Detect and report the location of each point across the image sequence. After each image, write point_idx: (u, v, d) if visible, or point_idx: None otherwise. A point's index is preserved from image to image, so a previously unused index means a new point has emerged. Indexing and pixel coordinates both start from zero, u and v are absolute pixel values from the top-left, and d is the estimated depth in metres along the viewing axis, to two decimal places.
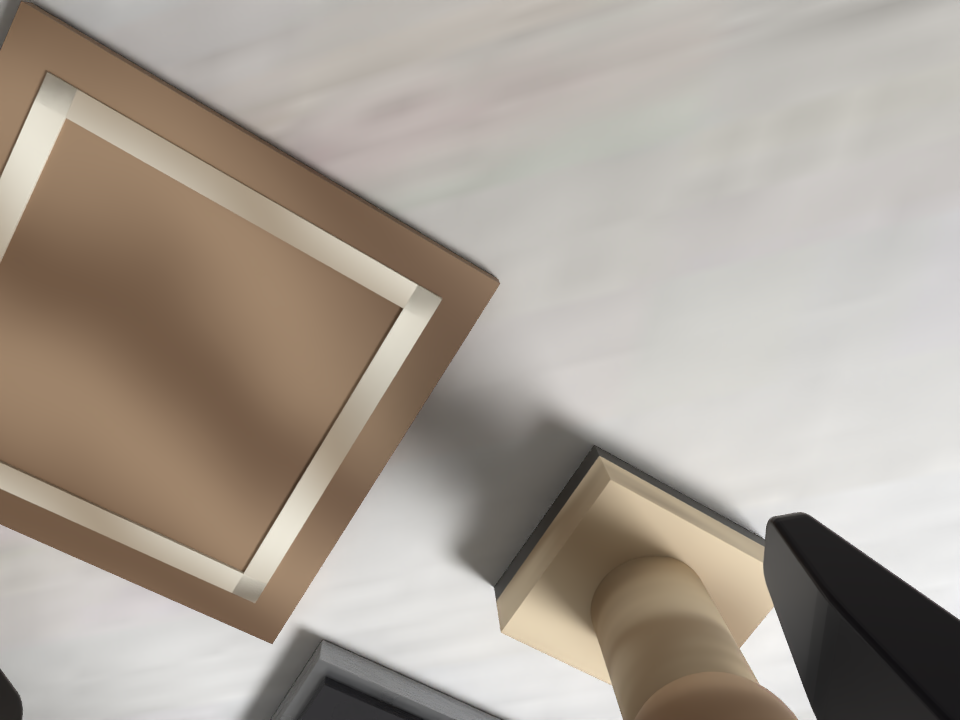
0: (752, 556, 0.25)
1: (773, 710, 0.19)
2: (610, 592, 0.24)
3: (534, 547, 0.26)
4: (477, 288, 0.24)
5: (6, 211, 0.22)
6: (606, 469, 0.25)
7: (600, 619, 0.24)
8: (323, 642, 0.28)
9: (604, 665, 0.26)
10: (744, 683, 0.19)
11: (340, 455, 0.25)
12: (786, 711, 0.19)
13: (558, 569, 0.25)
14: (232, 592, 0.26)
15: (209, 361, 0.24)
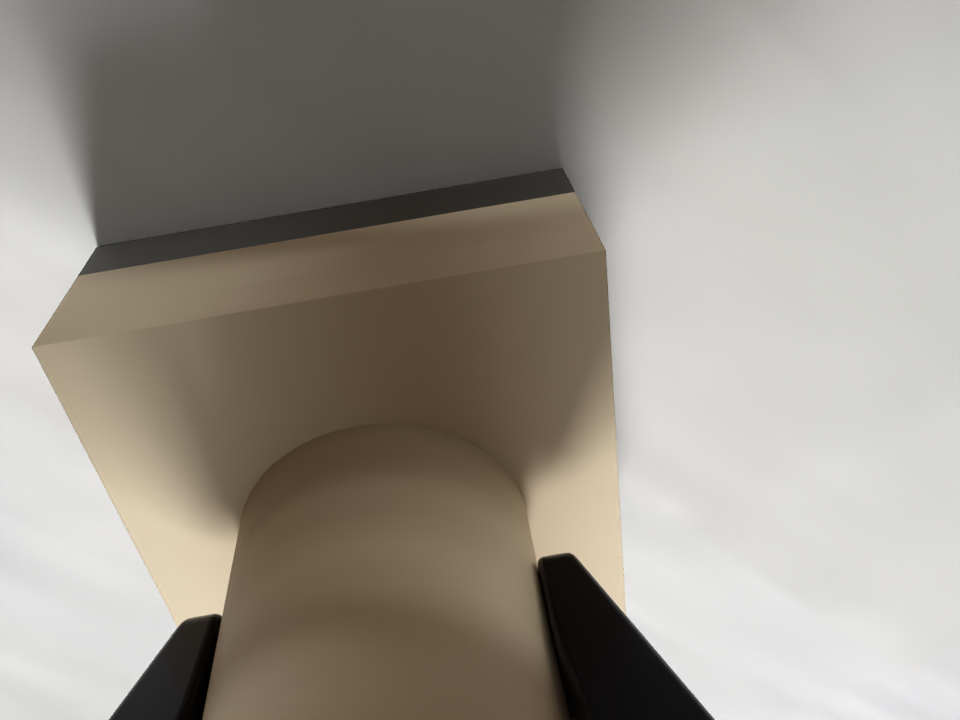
0: None
1: None
2: (372, 468, 0.09)
3: (270, 245, 0.10)
4: None
5: None
6: (591, 225, 0.09)
7: (302, 507, 0.09)
8: None
9: (193, 572, 0.11)
10: None
11: None
12: None
13: (303, 329, 0.09)
14: None
15: None
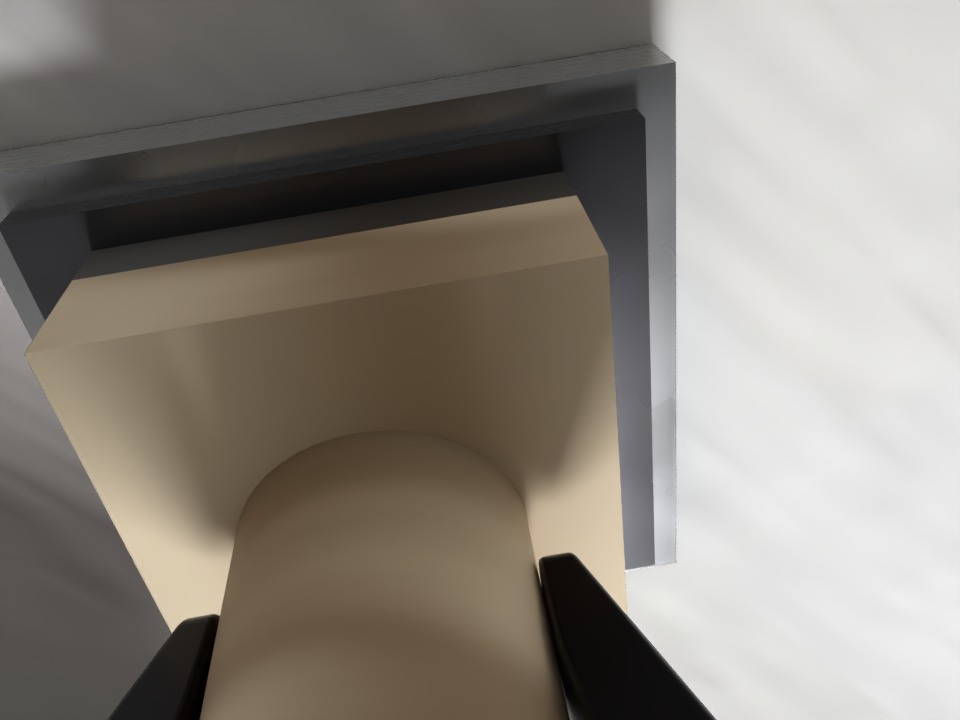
0: (626, 598, 0.11)
1: None
2: (371, 477, 0.09)
3: (267, 249, 0.10)
4: None
5: None
6: (593, 229, 0.09)
7: (300, 516, 0.08)
8: (655, 48, 0.11)
9: (189, 581, 0.10)
10: None
11: None
12: None
13: (300, 335, 0.09)
14: None
15: None
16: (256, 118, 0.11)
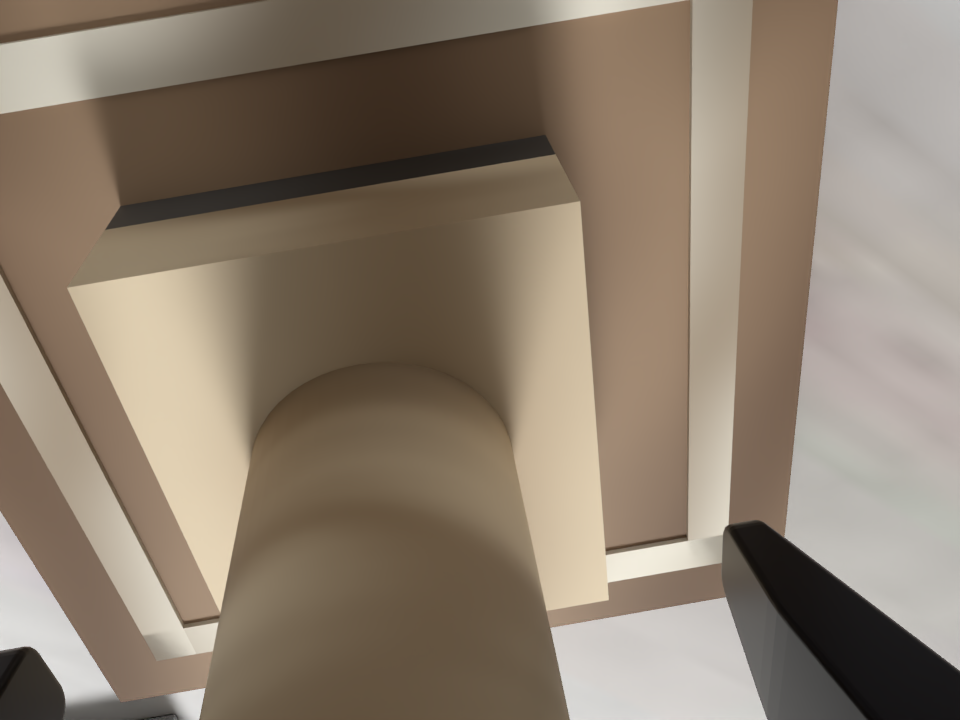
0: (603, 525, 0.13)
1: None
2: (371, 399, 0.10)
3: (279, 201, 0.11)
4: None
5: (458, 9, 0.11)
6: (568, 181, 0.10)
7: (308, 431, 0.10)
8: None
9: (208, 503, 0.12)
10: None
11: None
12: None
13: (309, 272, 0.10)
14: (143, 635, 0.16)
15: None
16: None
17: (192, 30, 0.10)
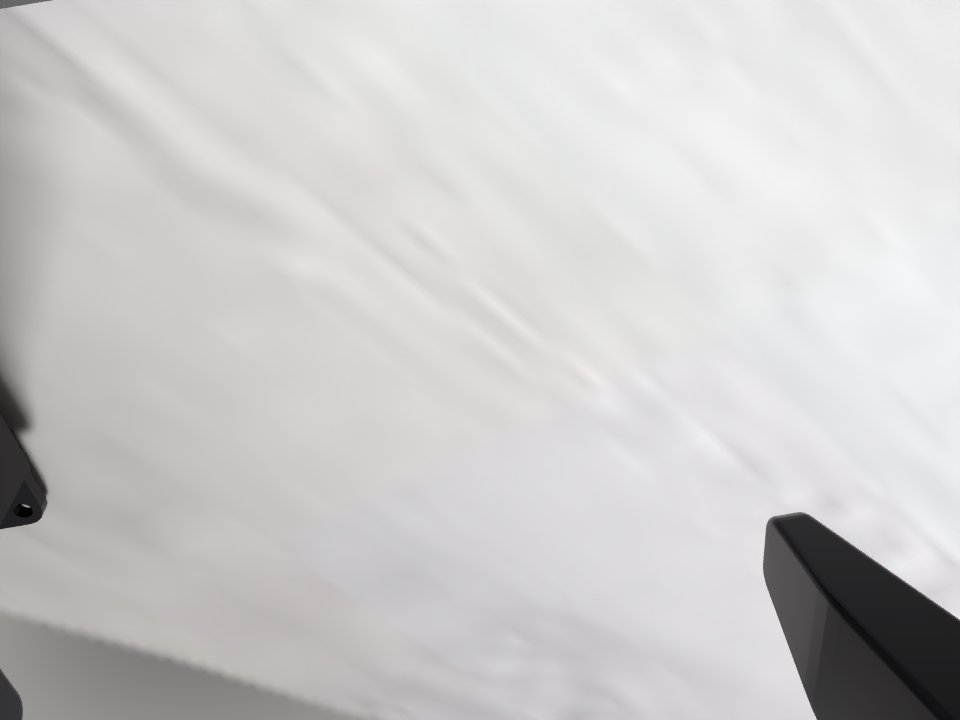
0: None
1: None
2: None
3: None
4: None
5: None
6: None
7: None
8: None
9: None
10: None
11: None
12: None
13: None
14: None
15: None
16: None
17: None
